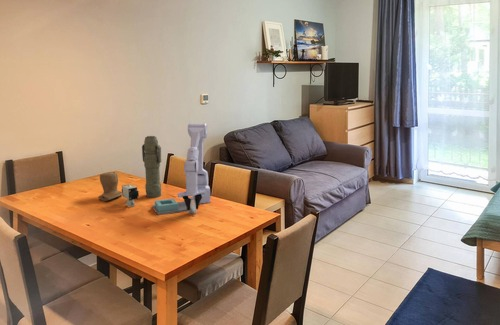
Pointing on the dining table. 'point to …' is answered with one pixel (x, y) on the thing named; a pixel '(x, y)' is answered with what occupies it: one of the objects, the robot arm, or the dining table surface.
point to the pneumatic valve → (130, 194)
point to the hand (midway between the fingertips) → (192, 209)
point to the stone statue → (152, 166)
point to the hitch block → (169, 206)
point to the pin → (192, 205)
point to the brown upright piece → (109, 186)
